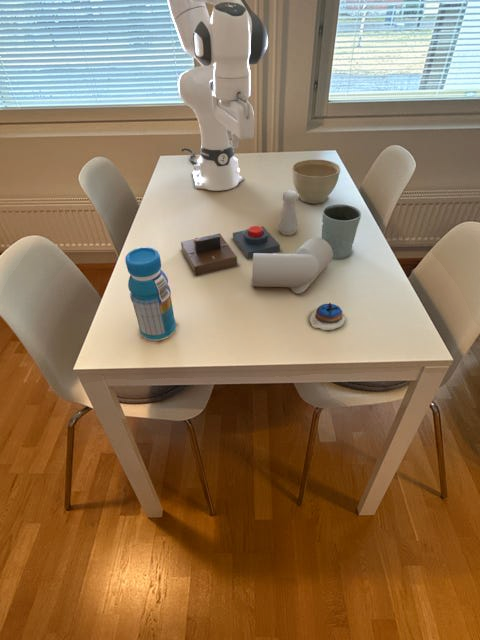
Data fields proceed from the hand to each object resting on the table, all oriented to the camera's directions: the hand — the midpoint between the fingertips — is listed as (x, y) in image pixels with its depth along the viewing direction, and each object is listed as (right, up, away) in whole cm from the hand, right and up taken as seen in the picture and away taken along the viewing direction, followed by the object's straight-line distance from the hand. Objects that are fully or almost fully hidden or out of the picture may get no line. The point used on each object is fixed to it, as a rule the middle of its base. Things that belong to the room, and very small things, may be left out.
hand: (233, 146), depth 107 cm
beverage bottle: (-17, -49, -15) cm, 54 cm away
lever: (-7, -26, +5) cm, 28 cm away
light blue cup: (+29, -26, +9) cm, 40 cm away
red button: (+6, -21, +9) cm, 24 cm away
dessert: (+22, -46, -14) cm, 53 cm away
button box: (+6, -24, +12) cm, 28 cm away
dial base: (-7, -29, +7) cm, 30 cm away
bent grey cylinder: (+14, -36, -1) cm, 38 cm away
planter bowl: (+28, -3, +35) cm, 44 cm away
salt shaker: (+16, -19, +17) cm, 31 cm away
